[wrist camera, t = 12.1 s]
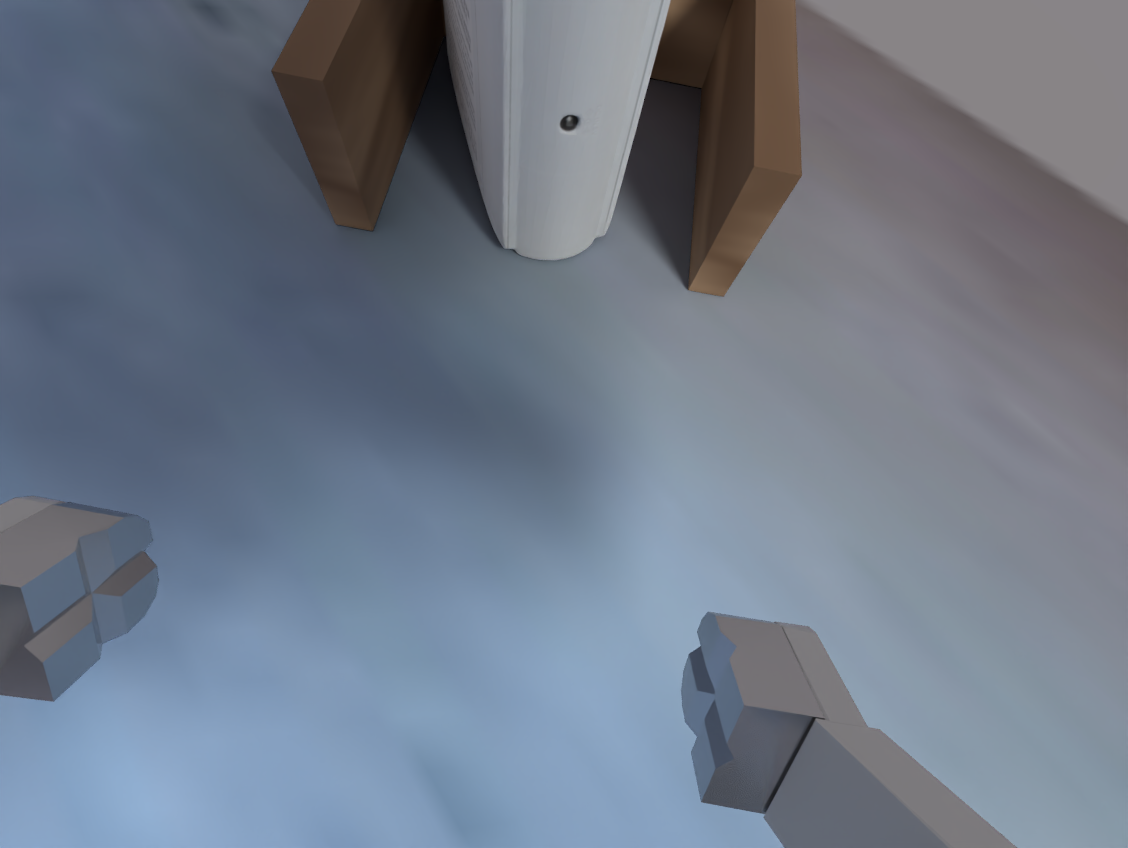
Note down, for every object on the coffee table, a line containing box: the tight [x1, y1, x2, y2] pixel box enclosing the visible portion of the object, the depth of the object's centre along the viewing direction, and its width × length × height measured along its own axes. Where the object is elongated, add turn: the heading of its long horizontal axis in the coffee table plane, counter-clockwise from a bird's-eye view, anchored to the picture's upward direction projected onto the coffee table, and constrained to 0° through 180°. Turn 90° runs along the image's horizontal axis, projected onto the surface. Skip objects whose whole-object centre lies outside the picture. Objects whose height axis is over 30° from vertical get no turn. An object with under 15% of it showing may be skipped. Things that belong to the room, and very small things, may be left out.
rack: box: [272, 0, 802, 297], centre depth 17 cm, size 13×11×5 cm
